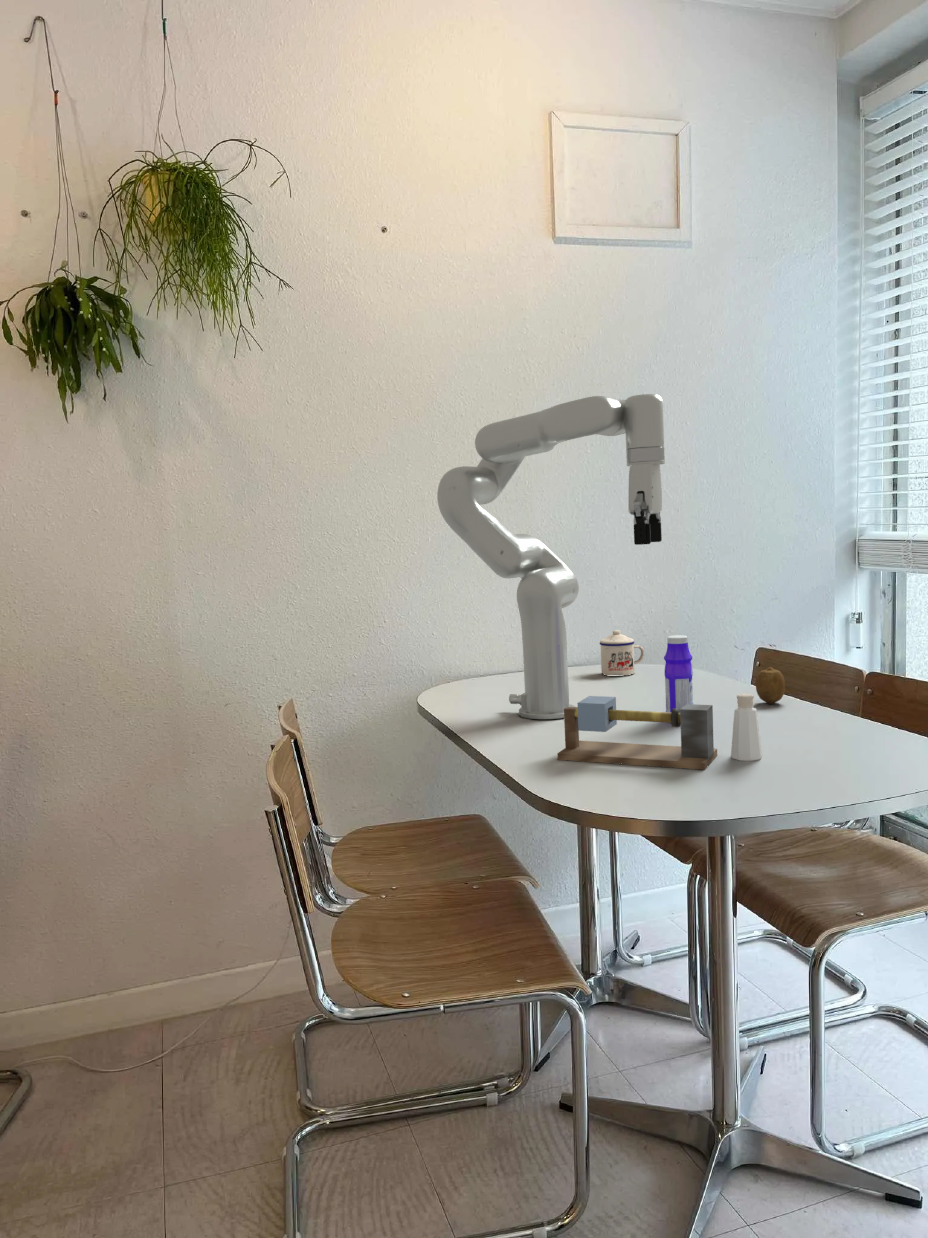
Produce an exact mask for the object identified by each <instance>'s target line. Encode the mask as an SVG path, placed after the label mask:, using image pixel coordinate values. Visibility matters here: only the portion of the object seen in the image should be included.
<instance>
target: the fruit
mask: <svg viewBox="0 0 928 1238" xmlns="http://www.w3.org/2000/svg"><path fill="white" fill-rule="evenodd" d="M782 673H783V672H781V671H780V670H778V669H774V668H773V667H772V666H769V667H767V668H766V669H762V670H761V671H759V673H758V674H757V677H756V680H755V690H756V693H757V696H758V697H759V699H760V700H761V701H763V702H764V703H767V704H769V705H773V704H775V703H777V702H779V701H780V700H782V698H783V697H784V694H785V691H786V681H785V678H784V677H785V676H784V675H783V674H782Z"/></svg>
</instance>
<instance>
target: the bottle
mask: <svg viewBox="0 0 928 1238" xmlns="http://www.w3.org/2000/svg"><path fill="white" fill-rule="evenodd" d="M666 638H667V643H666V644H667V648H666V652H665V655H664V657H663V660H664V661H665V665H664V677H665V678H664V679H665V680H664V682H665V683H664V685H665V688H664V689H665V691H664V692H665V712H672V709H673V708H677V709H681V708H682V707H683V706H685V705H686V704H694V693H693V675H694V674H693V673H694V671H693V665H692V660H693V656H692V654H691V652H690V648H689V641H688V640H689V639H688V636H687V635H683V634H675V635H669V636H667V637H666Z"/></svg>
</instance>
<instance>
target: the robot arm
mask: <svg viewBox="0 0 928 1238" xmlns="http://www.w3.org/2000/svg"><path fill="white" fill-rule="evenodd" d="M663 402H664V401H663V399H662V397H661V396H660V395H659V394H652V393H648V394H647V393H646V394H644V393H643V394H637V395H636V394H635V395H631V396H628V397H627V398H626V399H618V398H617V399H616V398H613V397H607V396H603V395H593V396H586V397H583V398H579V399H575V400H571V401H570V400H569V401H566V402H563V403H559V404H556V405H554V406H551V407H549V408H546V409H544V408H543V409H542V410H541V411H537V412H533V413H529V414H525V415H521V416H517V417H516V416H515V417H511V418H508V419H504V420H500V421H495V422H492V423H489V424H487V425H485V426H482V427H481V428H480V429H479V430H478V432H477V433H476V436H475V438H474V448H475V450H476V452H477V454H478V455H479V457H480V458H481V460H480V461H479V462H478V464H477V465H476V466H457V467H454V468H451V469H449V470H448V471H446V472H445V473H444V474H443V476H442V477H441V479H440V481H439V483H438V487H437V491H436V492H437V493H436V494H437V496H436V498H437V505H438V509H439V511H440V514H441V517H442V518H443V520H444V522H445V523H446V524H447V526H449V528H450V529H451V530H452V531H453V532H454V533H455V534H456V535H457V536H458V537H459V538H460V539H461V540H463V542H464V543H465V544H466V546H468V547H469V548H470V549H471V550H472V551H473V552H474V553H475V554H476V555H477V556H478V557H479V558H480V559H481V560H482V561H483V562H484V563H485V564H486V565H487V566H488V567H489V568H490V570H491V571H493V572H494V573H495V575H497V576H499V578H500V577H501V578H503V579H516V578H521V579H520V581H519V583H518V585H517V588H516V603H517V608H518V612H519V617H520V623H521V624H520V625H521V640H522V641H521V642H522V656H523V657H522V658H523V679H524V680H523V681H524V693H521V694H517V693H514V694H513V693H512V694H509V697H508V702H509V704H512V705H520V706H521V707H520V708H519V709H518V715H519V716H520V717H521V718H526V719H530V720H531V719H532V720H556V719H564V708H566V707H576V706H575V705H573V704H570V692H569V691H570V688H569V669H568V663H569V662H568V645H567V644H568V643H567V628H566V622H565V618H564V614H563V610H562V609H564V608H566V607H568V606H570V605H571V604H573V603H574V602H575V601H576V599H577V597H578V595H579V589H580V588H579V581H578V579H577V576H576V575H575V574H574V573H573V571H572V570H571V568H569V567H568V566H567V565H566V563H564V562H563V561H562V560H561V559H560V558H559V557H558V556H557V555H556V554H555V553H554V552H553V551H552V550H551V549H550V548H549V547H548V546H546V544H544V542H542V541H541V540H540V539H538V538H536V537H535V536H533V535H531V534H528V533H518V534H517V533H516V534H515V533H513V532H512V531H510V530H509V529H508V528H506V527H505V526H504V525H503V524H502V523H501V522H500V521H499V520H498V519H497V518H496V517H495V516H494V515H492V514H491V513H490V512H488V511H487V510H486V509H484V508H483V507H482V506H484V505H487V504H490V503H492V502H494V501H495V500H496V499H497V498H499V496H500V495H501V493H502V492H503V491H504V489H505V488H506V486H507V484H509V482H510V480H511V479H512V478H513V476H514V475H515V473H516V472H517V470H518V469H519V468H520V466H521V464H522V463H523V462H524V461H523V460H525V457H529V456H533V455H539V454H542V453H543V454H544V453H547V452H551V451H552V450H553V449H554V448H555V446H557V445H559V444H561V443H563V442H567V441H571V440H575V439H579V438H583V437H588V436H593V435H595V436H596V435H597V436H598V435H600V436H606V437H615V436H620V435H625V453H626V454H625V455H626V457H625V458H626V467H629V471H628V472H629V473H628V506H627V507H628V513H629V514H630V515H631V516H633V542H634V545H635V546H636V545H638V546H639V545H640V546H641V545H650V544H651V543H661V542H662V536H663V535H662V522H661V521H662V519H661V511H662V509H663V494H662V493H663V490H662V489H663V488H662V476H661V475H662V473H661V465H665V459H666V458H665V432H664V431H665V429H664V428H665V427H664V403H663ZM481 505H482V506H481Z"/></svg>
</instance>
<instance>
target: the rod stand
mask: <svg viewBox="0 0 928 1238" xmlns="http://www.w3.org/2000/svg"><path fill="white" fill-rule="evenodd" d="M713 709H714V708H713V705H712V704H694V703H693V704H686V705H685V706H683V707H682V708H681V709H677V708H673V709H672V712H666V711H649V710H628V709H627V710H626V709H623V710H622V709H616V710H608V720H617V721H626V722H627V721H628V722H629V721H630V722H646V723H647V722H649V723H666V724H667V723H668V724H671V727H672V728H680V745H665V744H664V745H662V744H661V745H660V744H646V743H645V744H643V743H629V742H627V743H625V742H612V741H594V740H593V741H592V740H580V733H579V728H578V706H575V707H566V708H564V718H563V723H564V742H565V743H564V745H565V747H564V748H563V749H562V750H560V751H558V752H557V754H556V755H557V761H566V760H571V761H570V762H581V761H582V762H581V763H583V761H584V763H595V762H602V763H601V764H610V763H620V764H619V765H624V764H629V765H628V766H639V765H649V766H648V767H653V766H664V767H663V768H668V767H674V768H673V769H682V768H689V769H688V770H697V769H701V770H700V771H705V770H706V769H707V768H708V767H709V766H710V764H711V763H712V762H713V761H714V760H715V758H716V757H717V756H718V748H716V747H715V746H714V718H713V717H714V713H713ZM714 747H715V748H714ZM572 760H573V761H572ZM603 762H604V763H603ZM621 763H622V764H621ZM707 766H708V767H707Z"/></svg>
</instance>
